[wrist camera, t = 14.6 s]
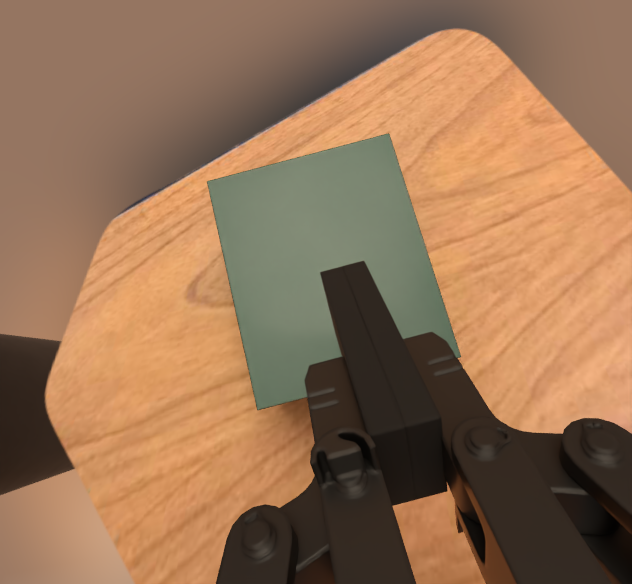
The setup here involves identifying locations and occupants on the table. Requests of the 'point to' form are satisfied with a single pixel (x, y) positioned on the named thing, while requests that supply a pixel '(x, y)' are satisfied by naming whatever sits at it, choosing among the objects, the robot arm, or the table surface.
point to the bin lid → (319, 256)
